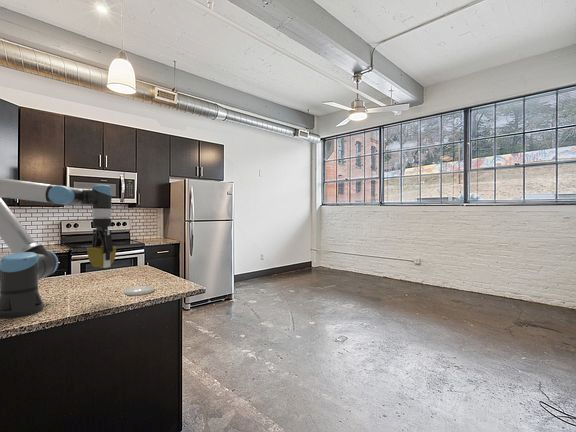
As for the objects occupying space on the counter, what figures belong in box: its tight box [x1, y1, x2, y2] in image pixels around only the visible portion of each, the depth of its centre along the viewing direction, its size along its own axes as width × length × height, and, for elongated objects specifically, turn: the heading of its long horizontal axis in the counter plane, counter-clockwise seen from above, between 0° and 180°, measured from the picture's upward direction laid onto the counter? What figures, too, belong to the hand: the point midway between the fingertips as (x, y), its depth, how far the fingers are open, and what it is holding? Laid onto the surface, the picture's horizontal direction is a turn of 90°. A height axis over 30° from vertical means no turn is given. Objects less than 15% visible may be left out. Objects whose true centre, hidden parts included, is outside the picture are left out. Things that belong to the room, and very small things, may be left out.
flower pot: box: [86, 245, 117, 268], centre depth 143 cm, size 9×9×9 cm
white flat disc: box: [123, 285, 155, 296], centre depth 158 cm, size 14×14×1 cm
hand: (101, 266), depth 143 cm, fingers closed on flower pot, 9 cm apart
